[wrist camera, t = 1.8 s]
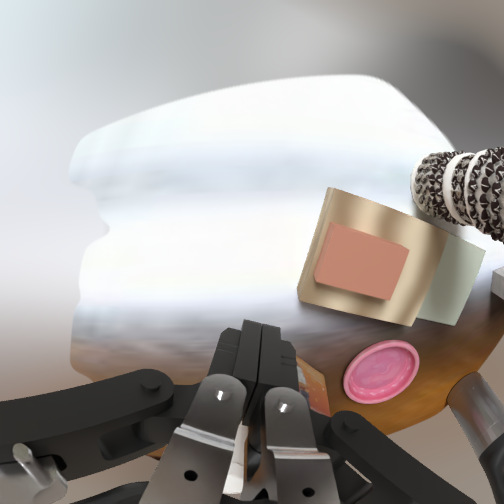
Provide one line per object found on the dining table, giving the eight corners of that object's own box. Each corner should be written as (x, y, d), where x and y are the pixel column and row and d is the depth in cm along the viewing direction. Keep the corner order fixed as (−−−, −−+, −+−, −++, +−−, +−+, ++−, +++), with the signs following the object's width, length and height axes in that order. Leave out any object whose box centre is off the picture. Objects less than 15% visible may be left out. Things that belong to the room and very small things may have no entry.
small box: (324, 374, 38) (333, 425, 28) (298, 393, 39) (300, 444, 29) (287, 347, 37) (289, 399, 27) (261, 368, 38) (255, 420, 28)
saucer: (371, 401, 39) (375, 413, 36) (324, 373, 38) (326, 386, 35) (424, 354, 36) (432, 364, 33) (383, 317, 35) (391, 328, 32)
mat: (484, 250, 30) (485, 250, 30) (453, 324, 34) (454, 325, 34) (433, 226, 31) (434, 226, 30) (400, 312, 34) (401, 313, 34)
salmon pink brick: (400, 244, 28) (409, 250, 26) (382, 292, 30) (389, 300, 27) (330, 221, 28) (334, 225, 26) (313, 273, 30) (316, 281, 27)
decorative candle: (400, 208, 31) (562, 272, 7) (414, 140, 28) (575, 118, 4) (450, 227, 30) (590, 293, 6) (463, 165, 28) (608, 179, 4)
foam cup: (225, 444, 45) (214, 495, 32) (196, 418, 43) (178, 473, 31) (266, 433, 43) (261, 489, 30) (238, 406, 41) (226, 467, 29)
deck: (433, 226, 31) (449, 232, 27) (400, 312, 34) (411, 326, 30) (327, 187, 31) (335, 188, 27) (296, 287, 34) (299, 300, 31)
